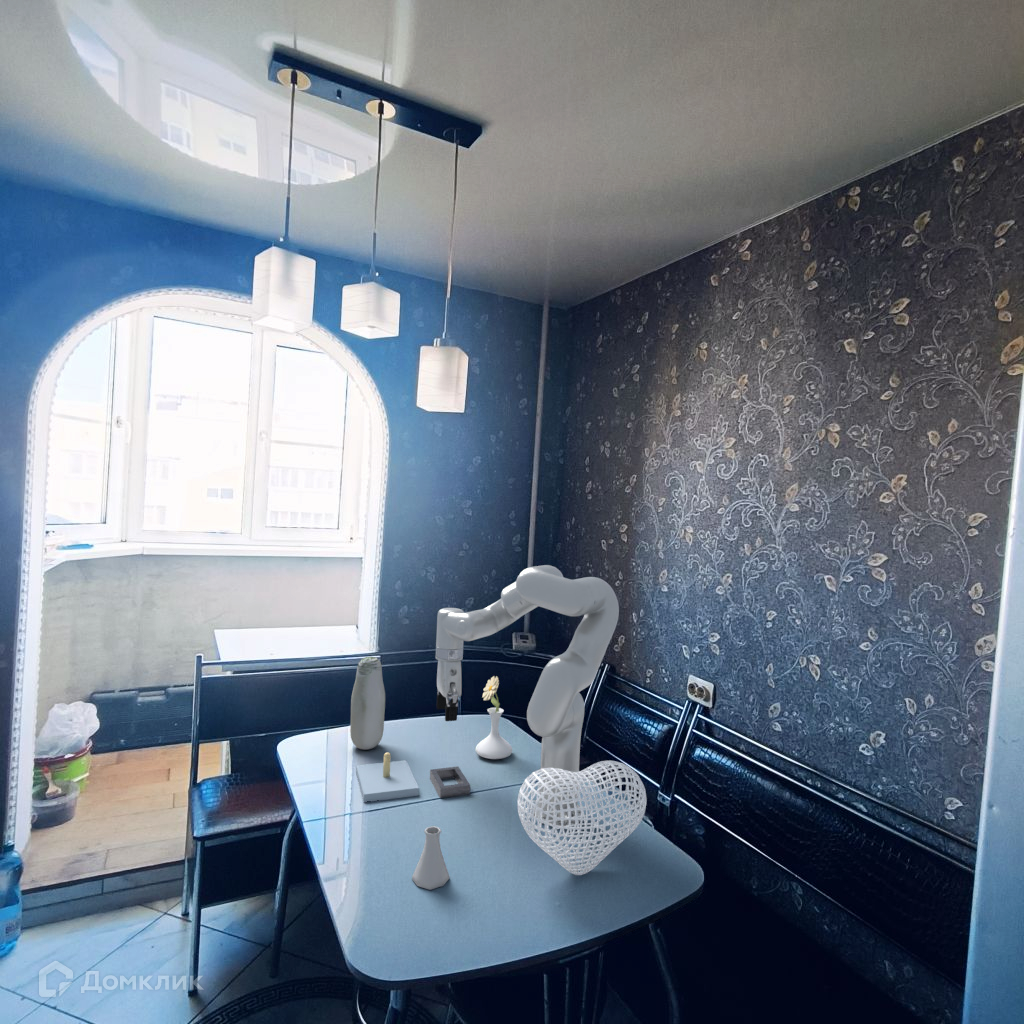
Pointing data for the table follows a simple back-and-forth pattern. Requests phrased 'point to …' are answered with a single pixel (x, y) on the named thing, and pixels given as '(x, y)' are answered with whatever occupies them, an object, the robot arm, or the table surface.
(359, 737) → the tall cream vase
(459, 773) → the steel link
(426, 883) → the flask
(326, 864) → the table surface
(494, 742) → the flower in vase
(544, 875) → the table surface
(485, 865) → the table surface
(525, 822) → the heart
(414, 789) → the board
